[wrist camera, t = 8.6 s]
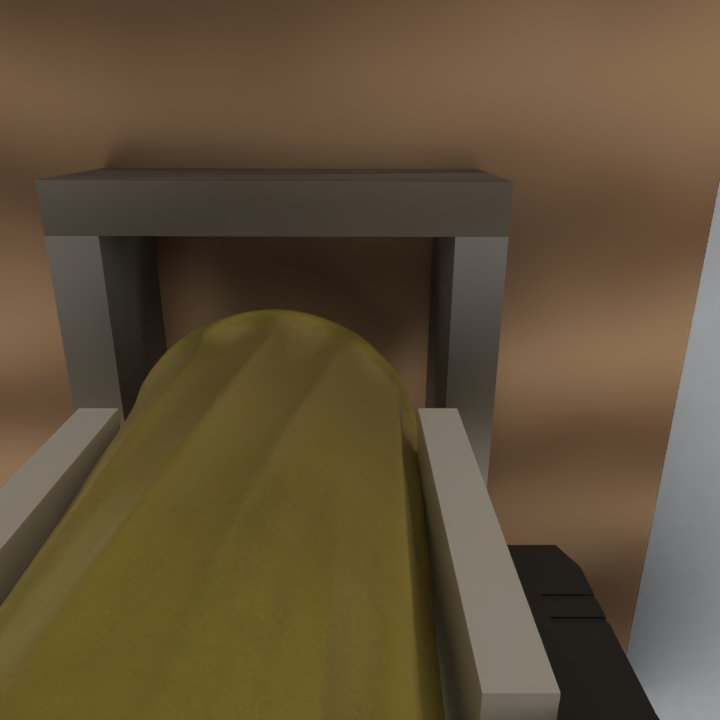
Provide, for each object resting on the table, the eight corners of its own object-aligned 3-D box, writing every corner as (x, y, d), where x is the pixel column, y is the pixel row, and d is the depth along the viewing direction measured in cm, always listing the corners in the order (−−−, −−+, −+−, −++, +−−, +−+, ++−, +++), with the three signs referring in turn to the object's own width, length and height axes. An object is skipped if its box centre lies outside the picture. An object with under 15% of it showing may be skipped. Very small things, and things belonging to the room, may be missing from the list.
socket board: (-92, -26, 17) (-267, -85, 12) (738, -20, 17) (886, -75, 12) (65, 707, 26) (2, 838, 21) (602, 704, 26) (657, 831, 21)
